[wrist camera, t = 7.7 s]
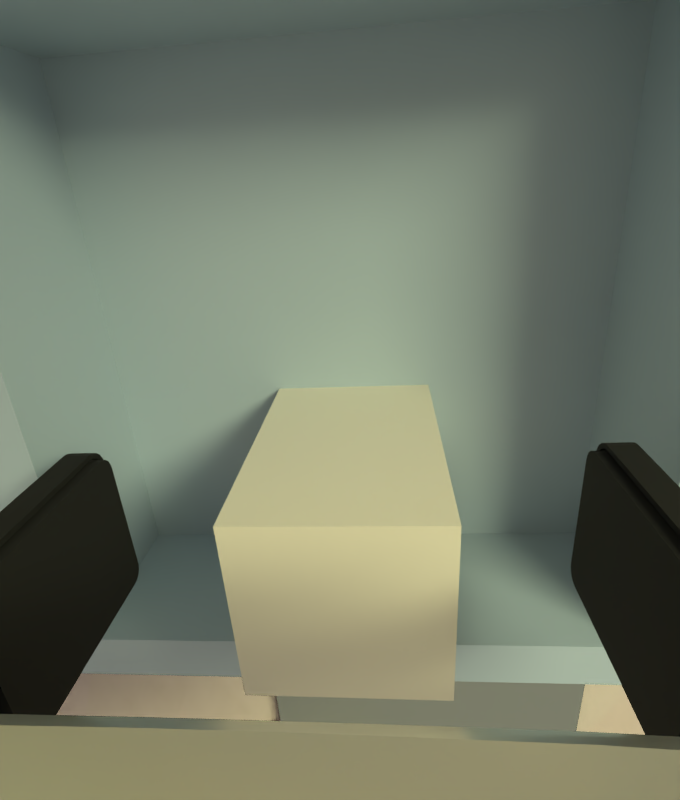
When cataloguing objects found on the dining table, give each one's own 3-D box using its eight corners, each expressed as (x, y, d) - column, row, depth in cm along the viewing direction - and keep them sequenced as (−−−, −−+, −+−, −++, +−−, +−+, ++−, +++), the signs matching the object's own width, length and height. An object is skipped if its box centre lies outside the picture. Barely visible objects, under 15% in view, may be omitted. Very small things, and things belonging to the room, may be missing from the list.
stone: (279, 388, 14) (212, 526, 8) (427, 384, 13) (461, 525, 8) (293, 510, 15) (245, 694, 10) (426, 510, 15) (454, 701, 10)
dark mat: (259, 575, 17) (257, 582, 17) (599, 576, 16) (603, 583, 16) (292, 778, 21) (291, 786, 21) (561, 789, 20) (564, 797, 20)
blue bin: (-15, 3, 11) (-244, -99, 7) (720, -75, 10) (967, -260, 6) (137, 554, 17) (60, 672, 13) (606, 554, 16) (686, 686, 12)
